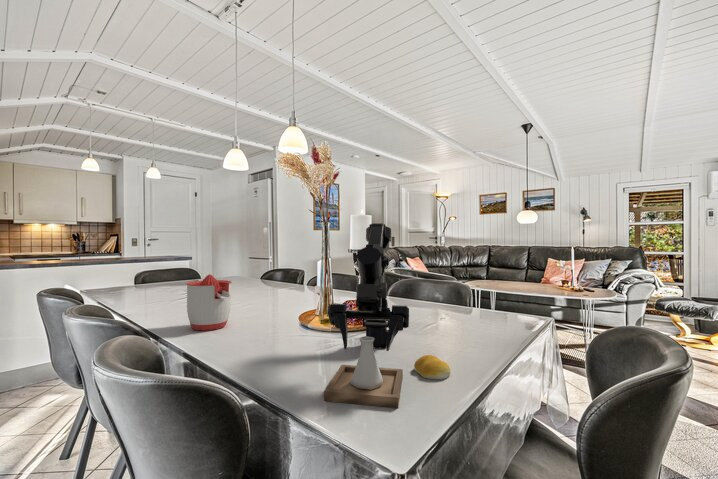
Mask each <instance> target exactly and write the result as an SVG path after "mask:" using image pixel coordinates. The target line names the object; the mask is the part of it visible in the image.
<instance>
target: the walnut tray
mask: <svg viewBox="0 0 718 479" xmlns="http://www.w3.org/2000/svg"><path fill="white" fill-rule="evenodd" d="M355 368H356V365H354V364H353V365H351V364H341V365H340V366H339V368H338V369H337V371H336V372H335V374H334V376H332V378H331V380H330V381H329V383H328V384H327V386H326V387H325V389H324V391H323V401H324V402H331V403H332V402H333V403H343V404H353V405H363V406H371V407H373V406H374V407H383V408H384V407H385V408H395V409H399V404H400V400H401V399H400V398H401V393H402V392H401V391H402V383H403V376H404V374H403V373H404V372H403V371H404V369H402V368H392V367H391V368H389V367H379V370H380V373H381V375H382V378H383V383H382V385H381V386H380V387H377V388H375V389H372V390H370V389H360V388H357V387H355V386H353V385H351V384H350V382H351V379H352V376H353V374H354V371H355Z"/></svg>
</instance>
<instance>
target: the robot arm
mask: <svg viewBox="0 0 718 479" xmlns="http://www.w3.org/2000/svg"><path fill="white" fill-rule="evenodd" d="M365 240H366V242H367V244H365V247H363V248H361V249H360V250H359V251H358V252H357V253H356V261H355V262H356V267H357V269H358V274H359V277H360V281H359V283H358V284H356V296H355V297H356V299H355V300H356V301H355V307H356V308H357V309H348V308H347V304H346V303H331V304H330V305H328V307H327V316H328V320H329V323H330V325H332V326H333V327H335V329H339V331H340V334H341V338H342V343H343V348H344V350H347V348H348V329H349V328H348V319H350V320H351V319H352V320H353V319H355V320H361V321H362V327H363V328H364V327H365V336H367V337H373V338H374V341H373V349H380V350H381V349H382V350H384V349H386V350H385V351H387V352H389V350H390V348H391V346H392V344H393V342H394V339H395V338H396V336H397V334H398V333H399V332H401V331H403V330H404V329H407V328H410V327H409V326H410V324H409V323H410V307H409V306H407V305H395V304H392V305H391V307H389V305H388V304H389V303H388V300H387V298H388V293H387V292H388V283H387V282H385V271H386V269H388V268H389V266H390V260H389V257H388V255H385V254H386V253H387V252H388V250H389V249H390V243H392V228H390V227H388V226H386V224H385V223H376V222H374V223H373V222H372V223H370V224H369V225H368V227H366V229H365ZM390 308H391V309H390Z"/></svg>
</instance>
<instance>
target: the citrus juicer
mask: <svg viewBox="0 0 718 479" xmlns="http://www.w3.org/2000/svg"><path fill="white" fill-rule="evenodd" d="M231 300H232V281H231V280H227V279H226V280H225V279H223V280H221V279H219V280H218V279H216V278H215V276H213V275H212V274H207V275H206V276H205V277H204V278H203V279H202V280H197V281H194V280H193V281H190V282H187V283H186V313H187V317H188V320H189V324H190V326H191V329H193V330H195V331H204V332H208V331H211V330H217V329H221V328H224V327H225V326H227V324H228V320H229V316H230V313H231V305H232V304H231V303H232V302H231Z"/></svg>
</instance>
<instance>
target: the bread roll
mask: <svg viewBox="0 0 718 479" xmlns="http://www.w3.org/2000/svg"><path fill="white" fill-rule="evenodd" d="M413 366H414V370H415V371H416V372H417V374H419V375H420V376H421V377H423V378H424V379H429V380H439V381H440V380H444V379H447V378H449V376H450V375H451V368H450V365H449V364H448V363H447V362H446V361H442V359H440V358H439V357H438V356H435V355H431V354H427V355H422V356H420V357H419V358H418V359H416V360H415V361H414V365H413Z"/></svg>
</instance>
